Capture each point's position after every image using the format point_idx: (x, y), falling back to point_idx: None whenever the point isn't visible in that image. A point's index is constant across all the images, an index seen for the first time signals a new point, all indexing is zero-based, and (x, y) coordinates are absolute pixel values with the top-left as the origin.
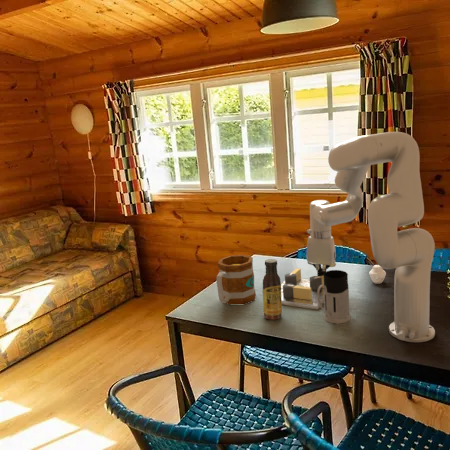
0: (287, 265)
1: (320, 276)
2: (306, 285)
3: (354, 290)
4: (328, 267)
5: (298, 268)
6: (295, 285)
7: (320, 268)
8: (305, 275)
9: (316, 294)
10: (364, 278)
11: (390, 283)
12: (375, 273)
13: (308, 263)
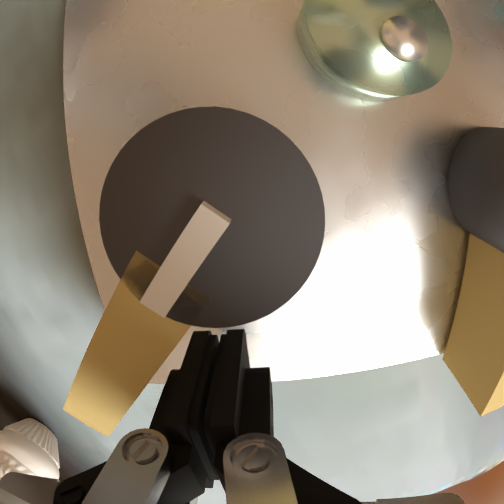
0: (487, 443)
1: (169, 328)
2: (365, 239)
3: (29, 329)
4: (73, 477)
5: (496, 408)
6: (456, 165)
7: (221, 477)
8: (414, 422)
9: (150, 49)
10: (103, 459)
11: (8, 418)
12: (4, 447)
13: (446, 497)
